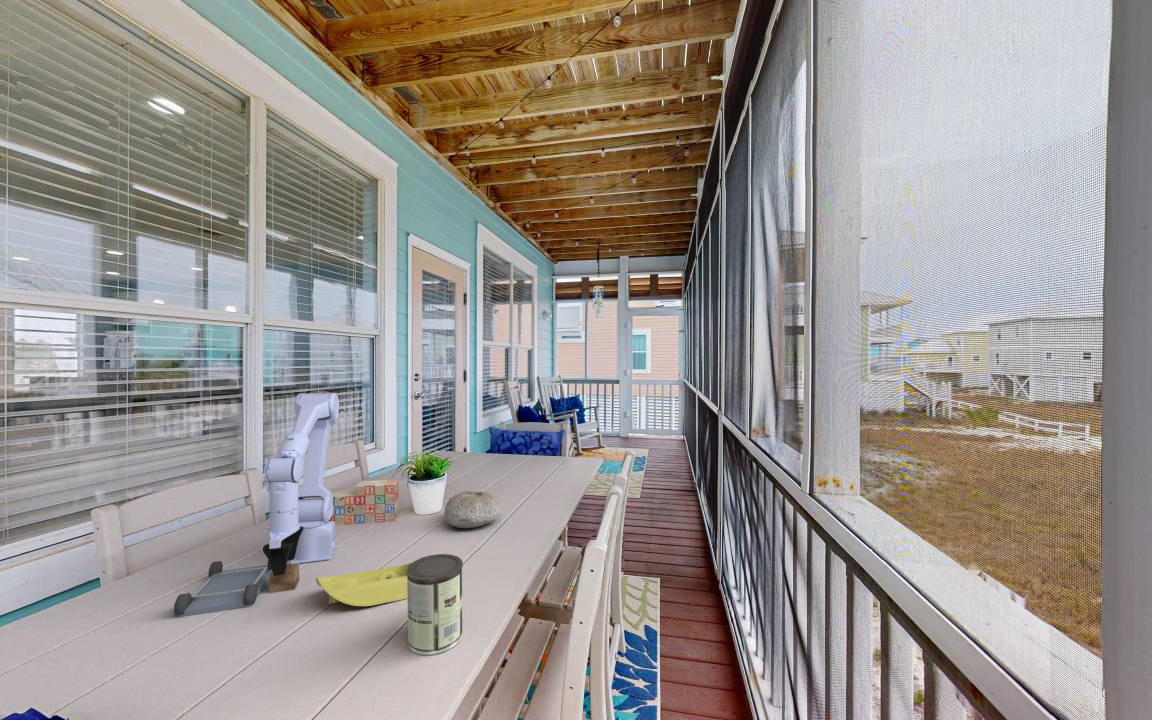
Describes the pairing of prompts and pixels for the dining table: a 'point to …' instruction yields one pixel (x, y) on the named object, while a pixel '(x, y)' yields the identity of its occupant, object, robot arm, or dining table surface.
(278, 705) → the dining table surface
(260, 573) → the chassis
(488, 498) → the grey rounded lump
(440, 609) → the coffee can
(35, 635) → the dining table surface
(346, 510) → the stack of blocks
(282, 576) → the engine block
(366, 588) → the plastic component
